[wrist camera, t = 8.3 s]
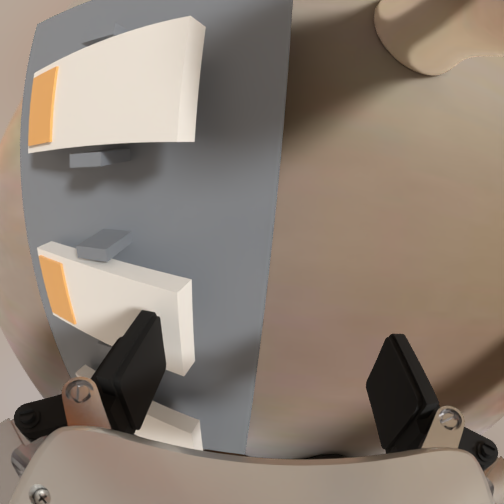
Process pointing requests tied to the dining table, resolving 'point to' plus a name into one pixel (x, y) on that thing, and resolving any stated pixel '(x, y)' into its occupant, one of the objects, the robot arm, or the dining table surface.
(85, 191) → the console
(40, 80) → the rocker
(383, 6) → the beer glass
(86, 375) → the rocker
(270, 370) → the dining table surface
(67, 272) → the rocker mid
